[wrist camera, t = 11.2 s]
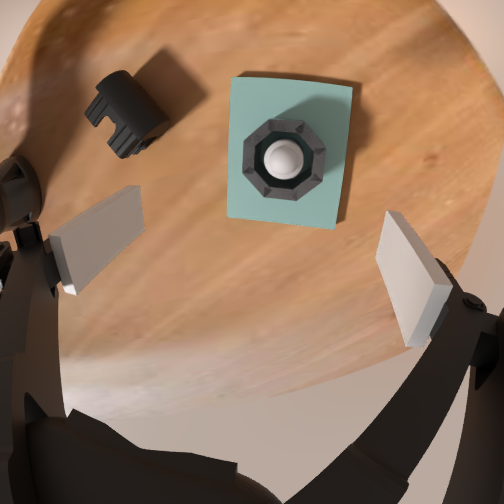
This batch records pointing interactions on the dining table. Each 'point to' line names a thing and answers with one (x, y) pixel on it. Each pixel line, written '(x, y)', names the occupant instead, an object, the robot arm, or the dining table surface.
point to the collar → (276, 186)
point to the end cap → (127, 114)
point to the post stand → (288, 147)
